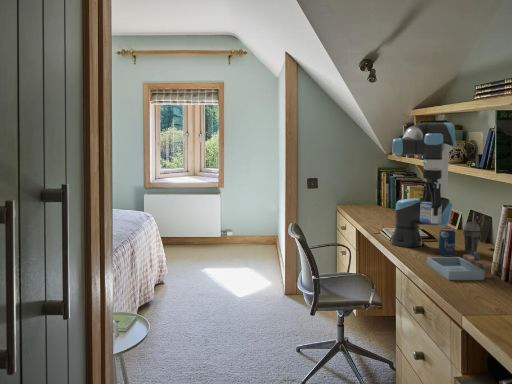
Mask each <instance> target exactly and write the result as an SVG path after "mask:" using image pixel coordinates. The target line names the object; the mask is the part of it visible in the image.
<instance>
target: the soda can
mask: <svg viewBox="0 0 512 384" xmlns="http://www.w3.org/2000/svg"><path fill="white" fill-rule="evenodd" d="M438 238H439V239H438V253H439V254H440V256H443V255H444V257H453V256H454V254H455V252H456V232H455V229H454V228H449V227H445V228H444V227H443V228H441V229H440V231H439V235H438Z"/></svg>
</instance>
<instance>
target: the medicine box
mask: <svg viewBox="0 0 512 384" xmlns="http://www.w3.org/2000/svg"><path fill="white" fill-rule="evenodd" d="M420 202H421V205H420V222H425V223H431V209H432V208H431V207H432V203H430V202H422V201H420ZM441 212H442V204H441V207H439V208H438V223H441ZM438 223H433V224H438Z"/></svg>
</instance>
